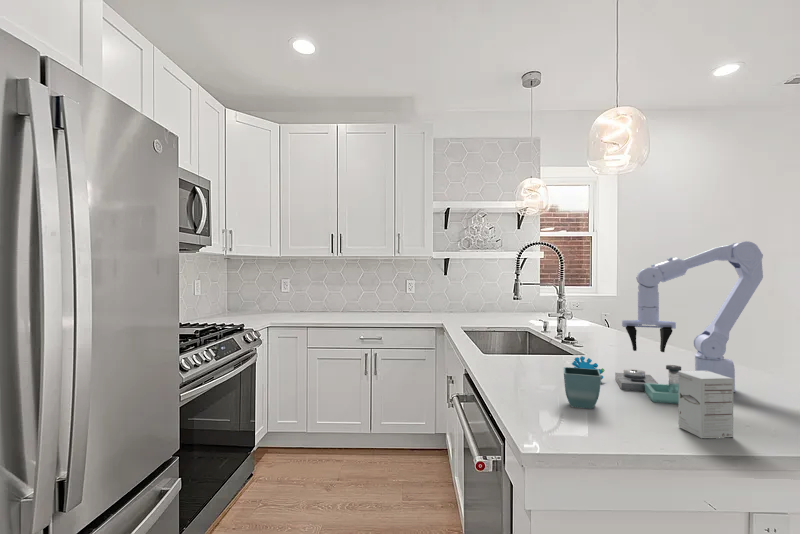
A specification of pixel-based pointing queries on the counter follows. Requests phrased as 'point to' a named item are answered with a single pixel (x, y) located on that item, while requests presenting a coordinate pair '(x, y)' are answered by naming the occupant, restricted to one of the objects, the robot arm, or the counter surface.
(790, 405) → the counter surface
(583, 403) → the flower pot
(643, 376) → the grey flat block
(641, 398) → the counter surface
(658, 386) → the tray
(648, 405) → the counter surface
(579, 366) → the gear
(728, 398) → the supplement box
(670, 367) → the pin
